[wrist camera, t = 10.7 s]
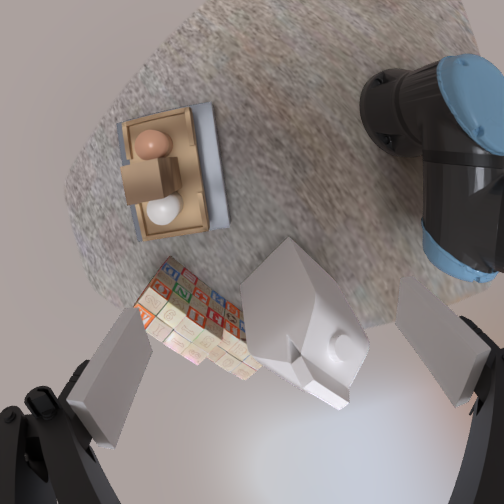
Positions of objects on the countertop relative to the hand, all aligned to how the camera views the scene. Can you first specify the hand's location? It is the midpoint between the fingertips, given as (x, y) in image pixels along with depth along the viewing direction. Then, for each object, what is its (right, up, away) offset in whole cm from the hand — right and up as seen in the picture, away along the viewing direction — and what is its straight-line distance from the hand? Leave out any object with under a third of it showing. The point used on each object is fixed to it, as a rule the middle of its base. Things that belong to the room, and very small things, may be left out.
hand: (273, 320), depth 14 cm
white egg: (-12, +10, +23) cm, 28 cm away
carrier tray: (-12, +14, +26) cm, 32 cm away
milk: (+5, -2, +36) cm, 37 cm away
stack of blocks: (-9, -6, +37) cm, 39 cm away
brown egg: (-13, +17, +21) cm, 30 cm away
